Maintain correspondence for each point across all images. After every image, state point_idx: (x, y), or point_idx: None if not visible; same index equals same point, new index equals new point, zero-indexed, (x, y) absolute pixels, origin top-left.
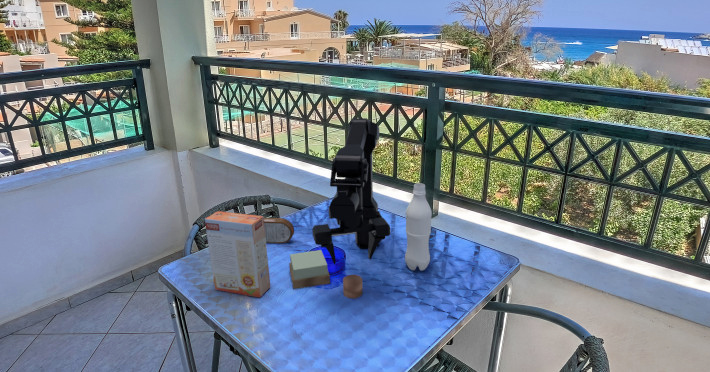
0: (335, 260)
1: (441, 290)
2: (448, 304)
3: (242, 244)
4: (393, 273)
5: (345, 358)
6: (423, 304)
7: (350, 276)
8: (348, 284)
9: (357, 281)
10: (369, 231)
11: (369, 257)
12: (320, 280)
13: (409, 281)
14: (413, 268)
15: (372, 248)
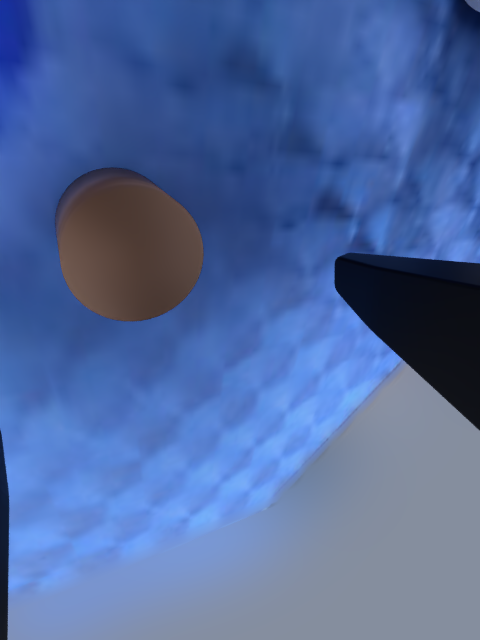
0: (7, 498)
1: (460, 202)
2: None
3: None
4: (363, 3)
5: (131, 540)
6: None
7: (116, 217)
8: (114, 316)
9: (172, 278)
10: None
11: (349, 301)
12: None
13: (399, 120)
14: (474, 8)
15: (455, 404)
